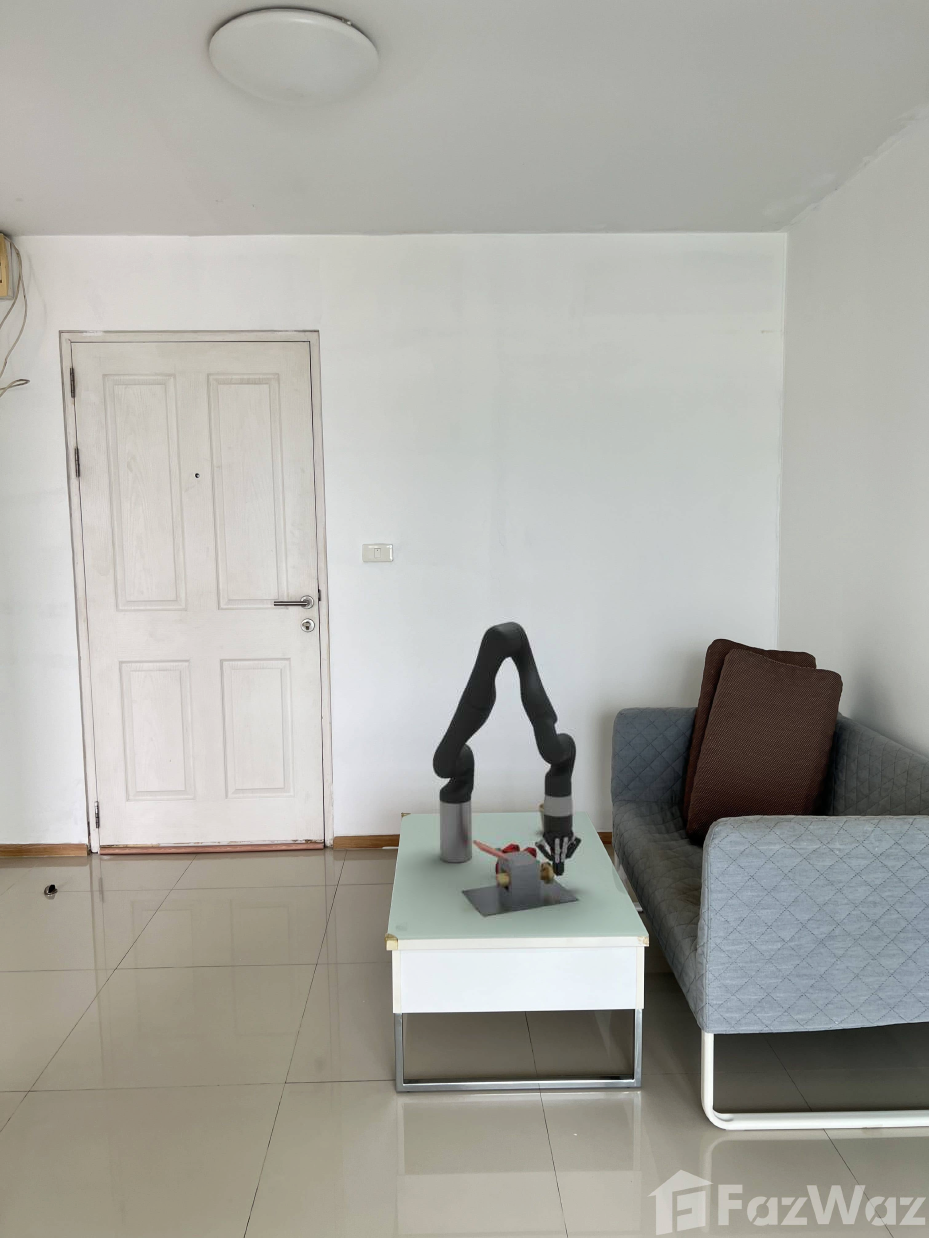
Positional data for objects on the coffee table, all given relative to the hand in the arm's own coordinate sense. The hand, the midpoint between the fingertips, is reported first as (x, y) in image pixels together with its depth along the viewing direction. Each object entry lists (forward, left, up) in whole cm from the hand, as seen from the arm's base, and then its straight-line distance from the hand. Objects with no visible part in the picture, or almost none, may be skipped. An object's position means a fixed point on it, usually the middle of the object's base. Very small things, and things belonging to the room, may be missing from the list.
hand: (558, 874), depth 228 cm
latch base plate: (0, -11, -4) cm, 12 cm away
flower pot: (-40, +18, -4) cm, 44 cm away
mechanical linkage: (-17, -6, -4) cm, 19 cm away
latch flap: (0, -19, +9) cm, 21 cm away
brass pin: (0, -10, -2) cm, 10 cm away
